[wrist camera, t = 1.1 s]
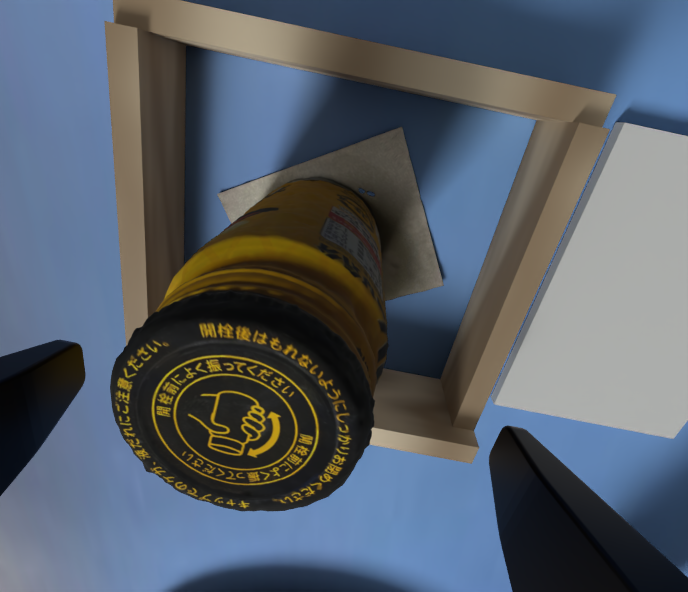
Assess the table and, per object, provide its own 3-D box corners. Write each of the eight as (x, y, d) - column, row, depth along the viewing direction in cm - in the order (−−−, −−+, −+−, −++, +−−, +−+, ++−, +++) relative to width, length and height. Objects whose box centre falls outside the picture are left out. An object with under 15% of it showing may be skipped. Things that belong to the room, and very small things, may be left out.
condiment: (218, 193, 18) (-24, 327, 7) (401, 126, 16) (469, 161, 5) (282, 327, 20) (182, 573, 10) (442, 282, 19) (541, 518, 8)
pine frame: (572, 97, 15) (646, 92, 11) (452, 396, 22) (471, 463, 17) (159, 8, 15) (78, -31, 11) (164, 341, 21) (115, 396, 17)
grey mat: (856, 173, 16) (874, 176, 15) (665, 430, 22) (673, 438, 21) (616, 122, 15) (625, 122, 15) (490, 396, 21) (493, 404, 21)
